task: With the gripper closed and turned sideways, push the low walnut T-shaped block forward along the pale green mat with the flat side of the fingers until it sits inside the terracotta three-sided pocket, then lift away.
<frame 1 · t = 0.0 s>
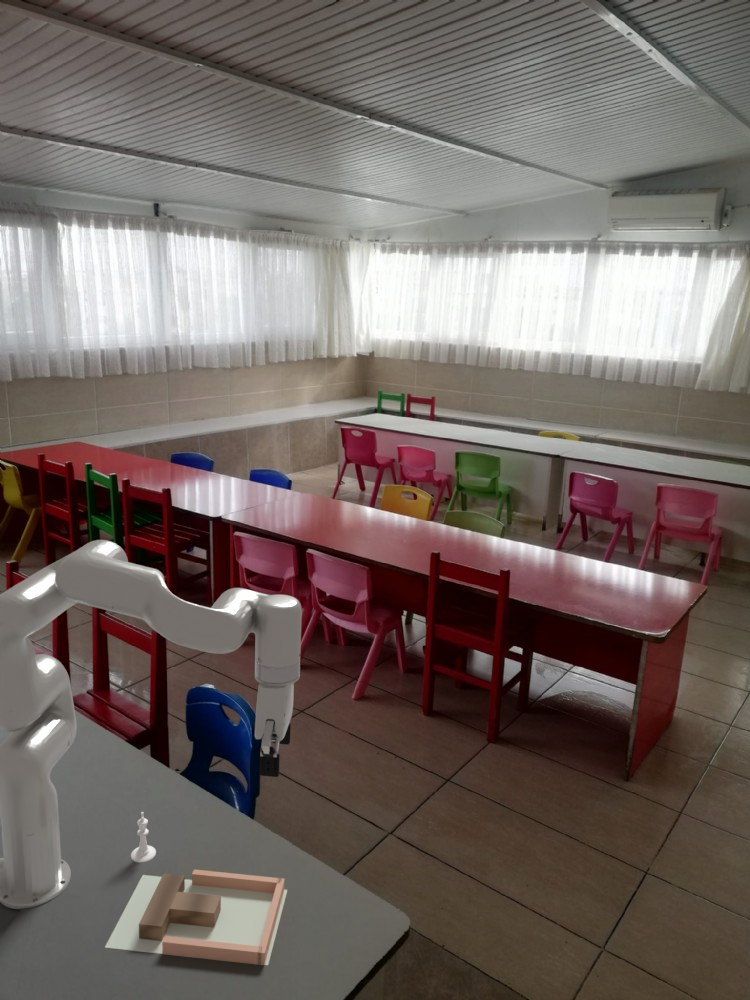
hand: (275, 758, 129), 31 cm above the table, tool pointing down, fingers open, 9 cm apart
pocket: (239, 923, 133), resting on mat
chess piece: (143, 857, 148), on the table
mat: (201, 919, 134), on the table
t block: (162, 912, 134), point 1 cm above the table, touching mat
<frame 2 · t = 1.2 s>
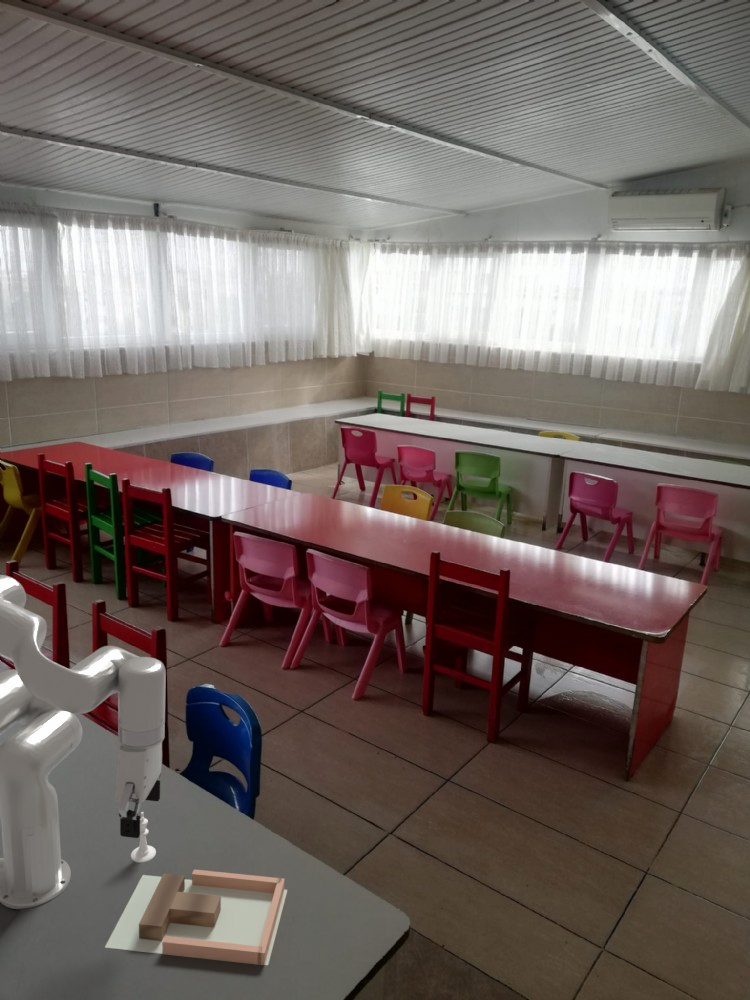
hand: (140, 817, 130), 19 cm above the table, tool pointing down, fingers open, 9 cm apart
nothing on the table moved.
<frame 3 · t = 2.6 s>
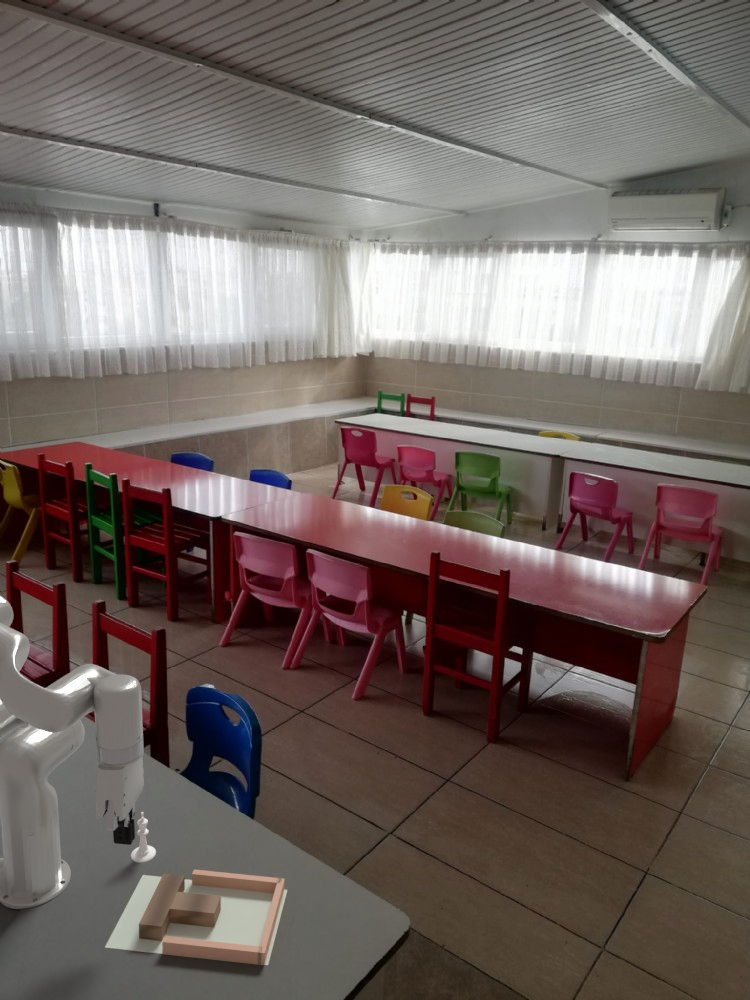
hand: (124, 840, 131), 15 cm above the table, tool pointing down, fingers closed
nothing on the table moved.
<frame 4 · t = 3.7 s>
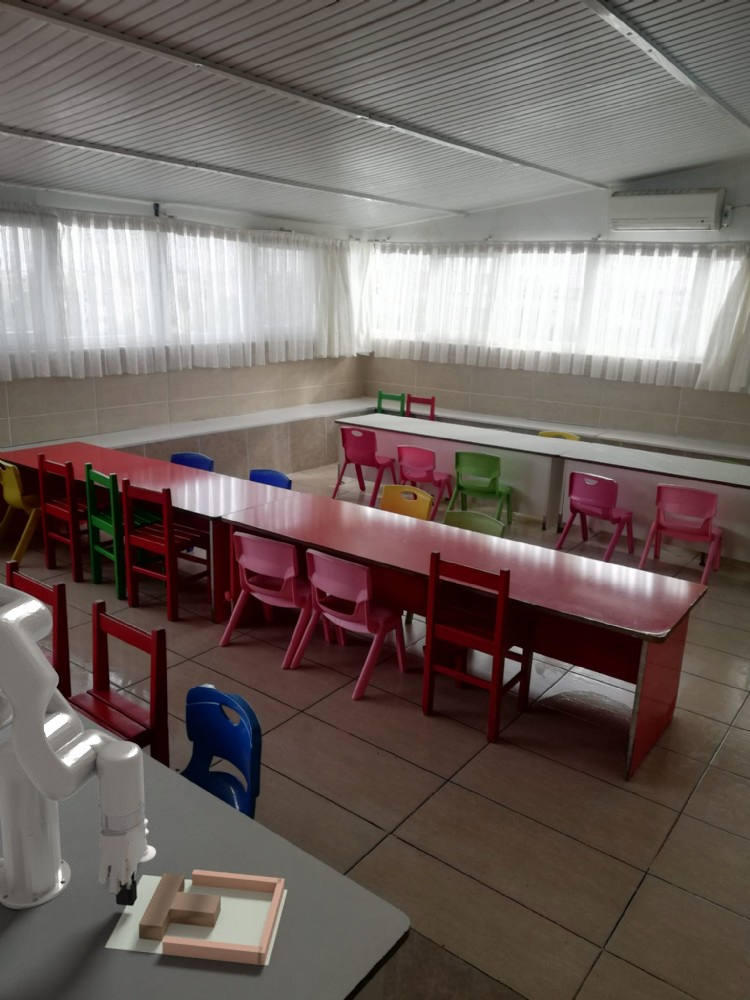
hand: (126, 901, 134), 2 cm above the table, tool pointing down, fingers closed
nothing on the table moved.
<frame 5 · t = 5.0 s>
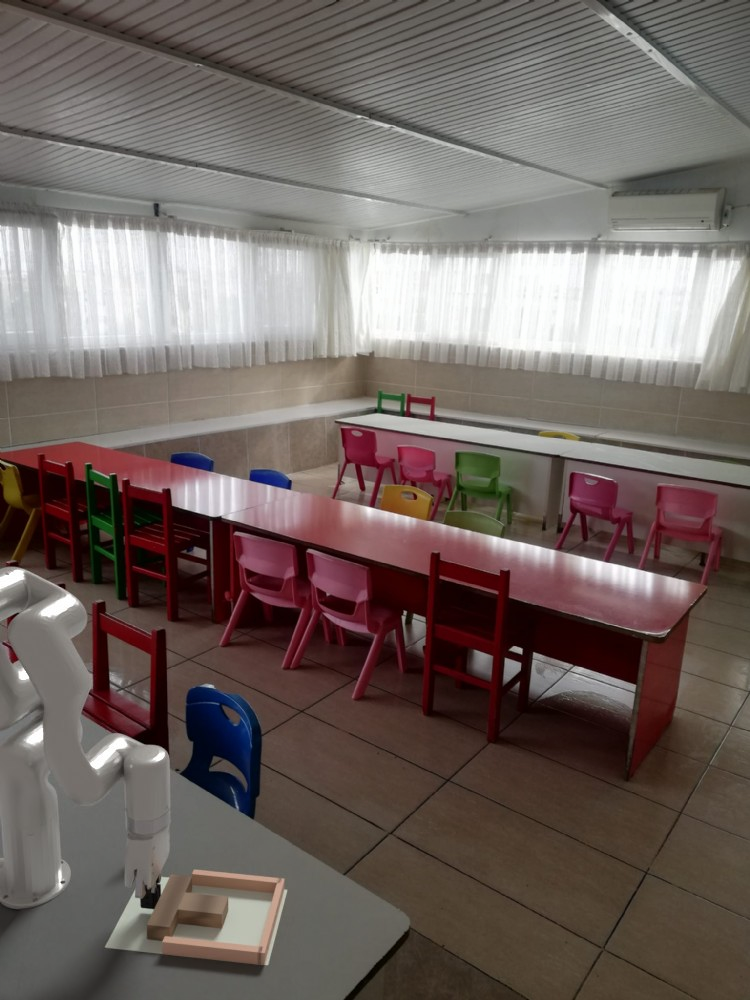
hand: (150, 905, 134), 2 cm above the table, tool pointing down, fingers closed
t block: (170, 913, 134), point 1 cm above the table, touching gripper
everything else where it was.
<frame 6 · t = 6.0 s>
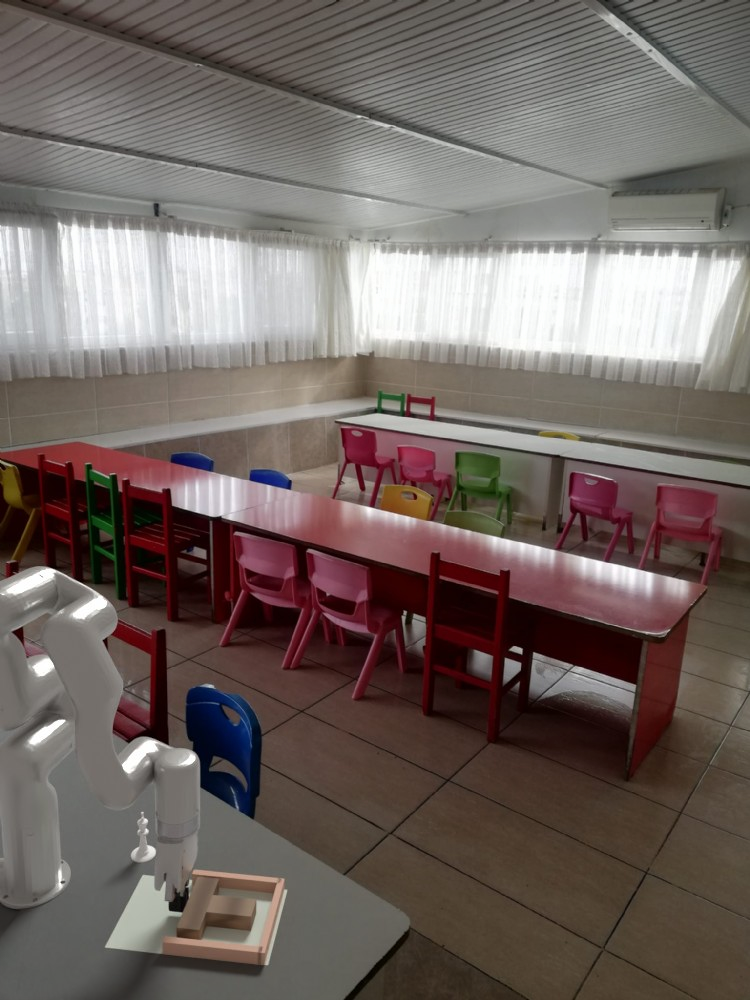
hand: (178, 908, 133), 2 cm above the table, tool pointing down, fingers closed
t block: (198, 916, 134), point 1 cm above the table, touching gripper
everything else where it was.
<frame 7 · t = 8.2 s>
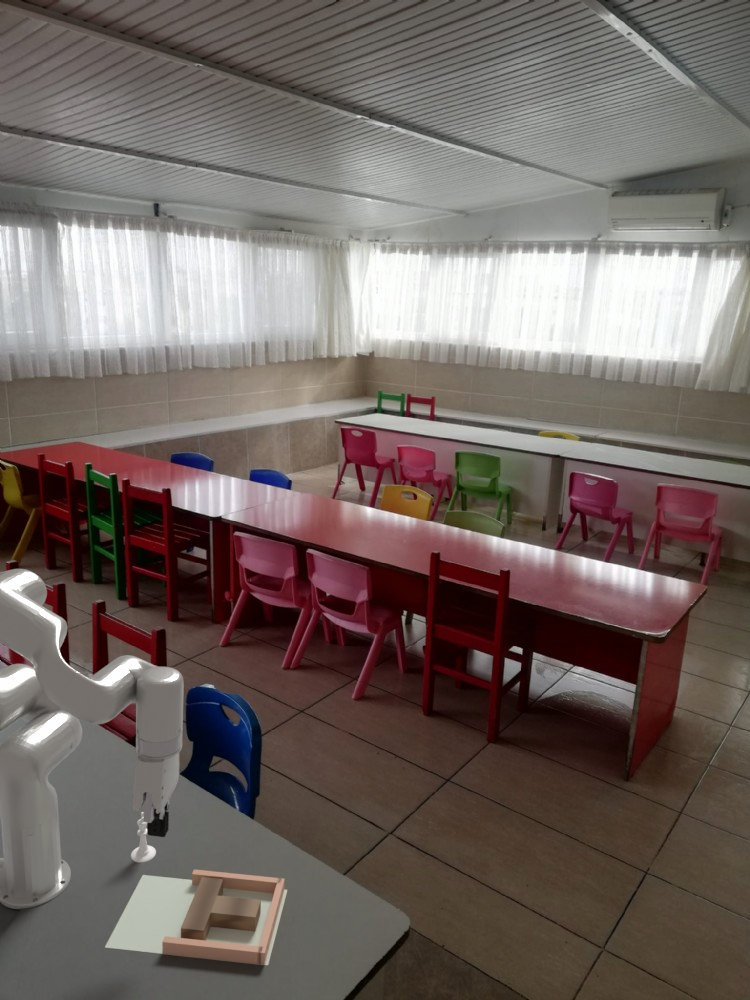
hand: (157, 833, 130), 17 cm above the table, tool pointing down, fingers closed
t block: (202, 916, 133), point 1 cm above the table, touching mat
everything else where it was.
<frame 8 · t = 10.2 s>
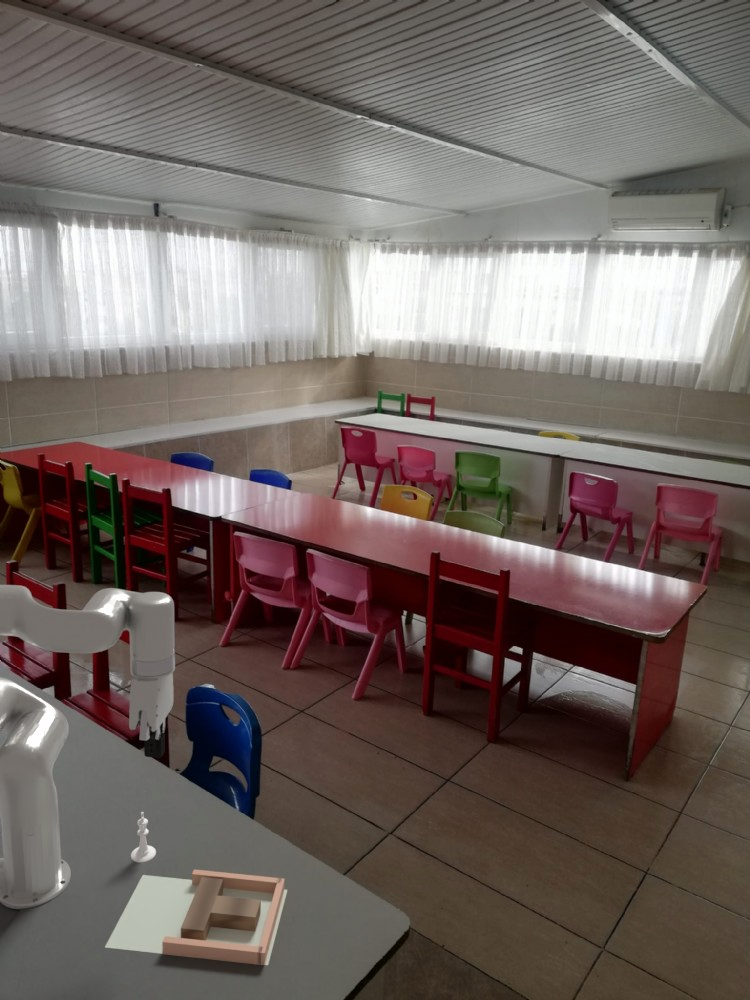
hand: (154, 754, 135), 27 cm above the table, tool pointing down, fingers closed
nothing on the table moved.
at the end: t block 0.3 cm from the target spot on the pocket, point 0.6 cm above the pocket's base; t block tilted 0° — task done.
